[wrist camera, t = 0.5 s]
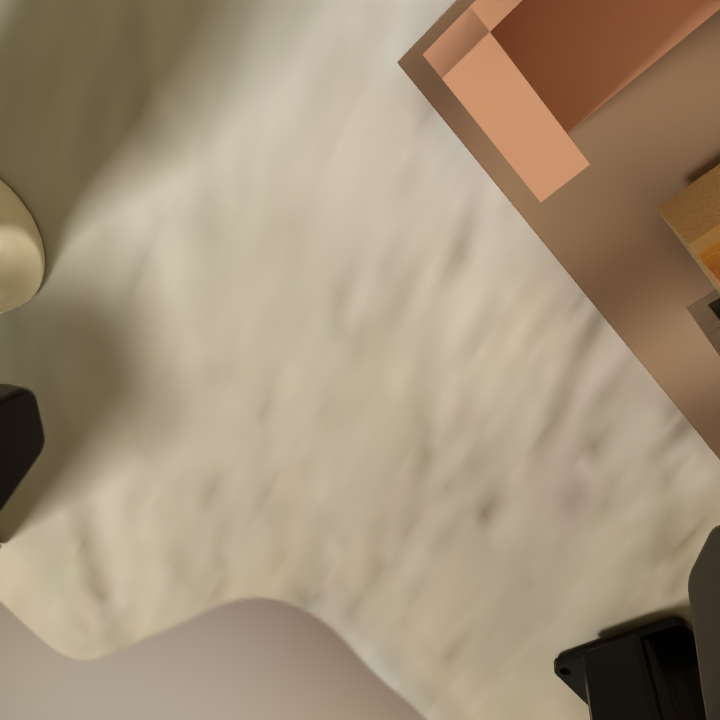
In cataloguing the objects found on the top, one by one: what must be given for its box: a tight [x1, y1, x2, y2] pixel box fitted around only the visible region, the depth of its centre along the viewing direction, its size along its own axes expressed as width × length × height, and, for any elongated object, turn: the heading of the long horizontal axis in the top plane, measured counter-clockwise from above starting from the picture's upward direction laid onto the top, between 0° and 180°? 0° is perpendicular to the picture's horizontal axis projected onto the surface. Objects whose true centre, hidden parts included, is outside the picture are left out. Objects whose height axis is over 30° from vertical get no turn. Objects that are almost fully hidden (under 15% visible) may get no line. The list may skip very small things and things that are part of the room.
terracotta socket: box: [423, 0, 720, 202], centre depth 13 cm, size 4×7×5 cm, turn 134°
